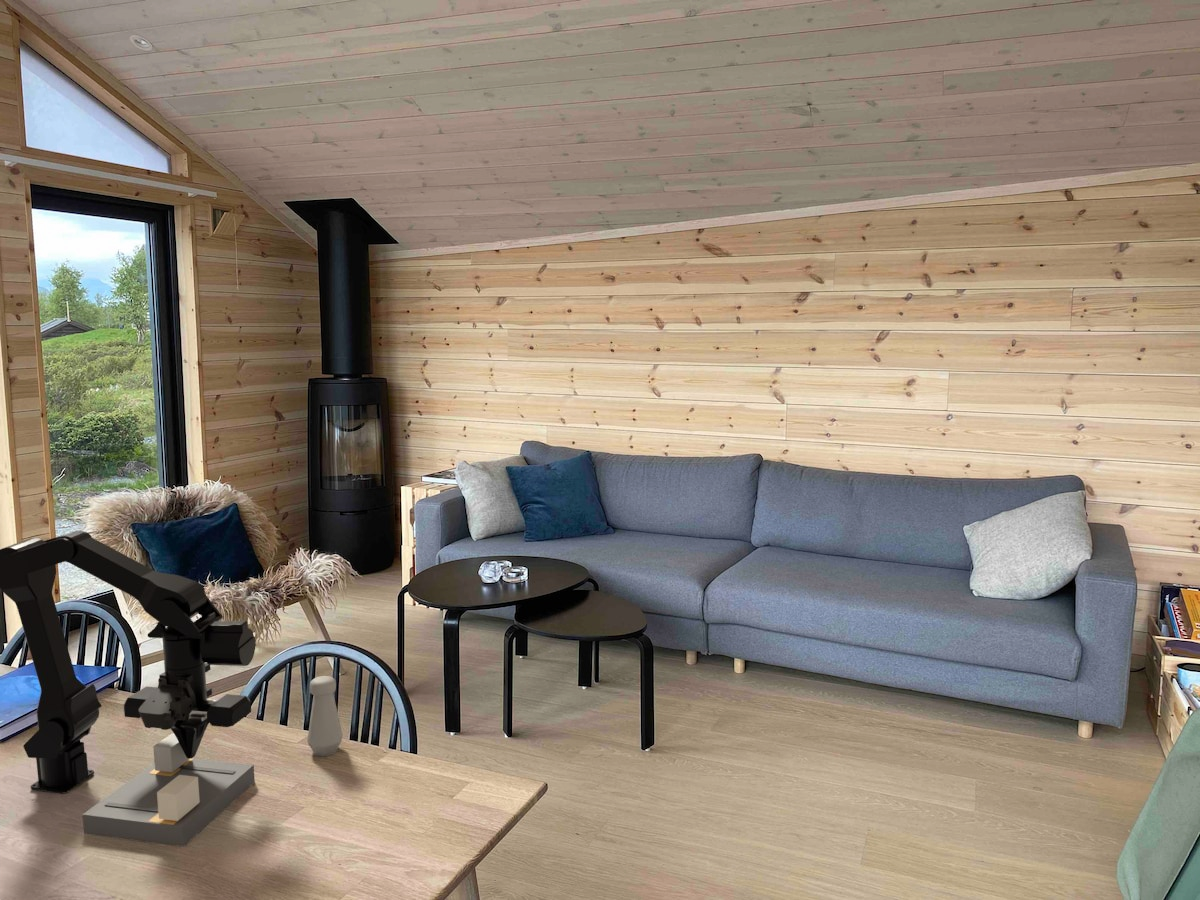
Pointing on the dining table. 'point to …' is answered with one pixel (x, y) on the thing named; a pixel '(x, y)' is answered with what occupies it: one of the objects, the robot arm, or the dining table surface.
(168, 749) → the block
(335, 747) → the salt shaker
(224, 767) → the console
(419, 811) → the dining table surface
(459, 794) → the dining table surface
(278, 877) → the dining table surface
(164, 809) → the cream fader
